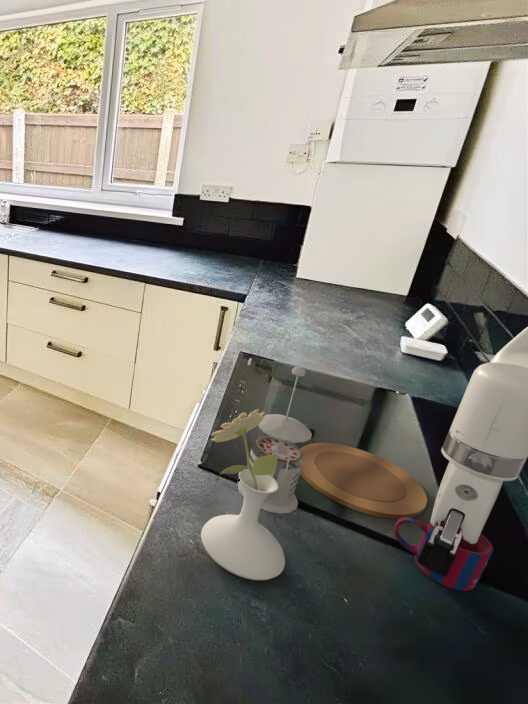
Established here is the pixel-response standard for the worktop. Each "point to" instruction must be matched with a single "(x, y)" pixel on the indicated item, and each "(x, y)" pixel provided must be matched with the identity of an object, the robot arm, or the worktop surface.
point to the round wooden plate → (362, 481)
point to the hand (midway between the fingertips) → (436, 554)
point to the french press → (281, 455)
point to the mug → (466, 561)
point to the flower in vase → (246, 514)
